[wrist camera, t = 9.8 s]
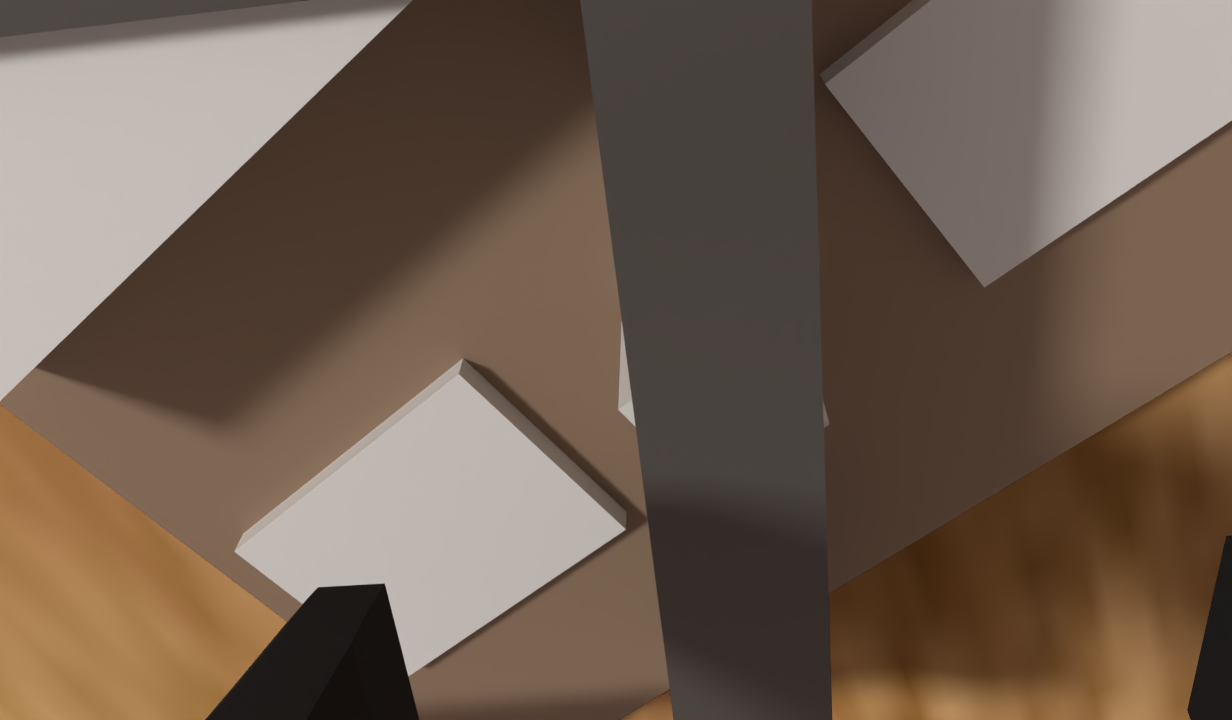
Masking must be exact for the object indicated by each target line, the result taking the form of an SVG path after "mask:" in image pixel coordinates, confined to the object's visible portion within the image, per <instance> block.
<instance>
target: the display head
mask: <svg viewBox="0 0 1232 720" xmlns="http://www.w3.org/2000/svg"><path fill="white" fill-rule="evenodd" d="M812 35H813V70H814V104H815V139H816V174H817V209H818V244H819V279H820V314H821V348H822V383H823V418H824V453H825V488H826V523H827V557H828V592H829V593H831V592H833V591H834V590H836V589H838V588H839V587H841V586H843V585H844V584H846V583H848V582H849V581H851V580H853V579H854V578H856V577H858V576H859V575H861V574H863V573H864V572H866V571H868V570H869V569H871V568H873V567H874V566H876V565H878V564H879V563H881V562H883V561H884V560H886V559H887V558H889V557H891V556H892V555H894V554H896V553H897V552H899V551H901V550H902V549H904V548H906V547H907V546H909V545H911V544H912V543H914V542H916V541H917V540H919V539H921V538H922V537H924V536H926V535H927V534H929V533H931V532H932V531H934V530H936V529H937V528H939V527H941V526H942V525H944V524H946V523H947V522H949V521H951V520H952V519H954V518H956V517H957V516H959V515H961V514H962V513H964V512H966V511H967V510H969V509H971V508H972V507H974V506H976V505H977V504H979V503H981V502H982V501H984V500H986V499H987V498H989V497H991V496H992V495H994V494H996V493H997V492H999V491H1001V490H1002V489H1004V488H1006V487H1007V486H1009V485H1011V484H1012V483H1014V482H1016V481H1017V480H1019V479H1021V478H1022V477H1024V476H1026V475H1027V474H1029V473H1031V472H1032V471H1034V470H1036V469H1037V468H1039V467H1041V466H1042V465H1044V464H1046V463H1047V462H1049V461H1051V460H1052V459H1054V458H1056V457H1057V456H1059V455H1061V454H1062V453H1064V452H1066V451H1067V450H1069V449H1071V448H1072V447H1074V446H1076V445H1077V444H1079V443H1081V442H1082V441H1084V440H1086V439H1087V438H1089V437H1091V436H1092V435H1094V434H1096V433H1097V432H1099V431H1101V430H1102V429H1104V428H1106V427H1107V426H1109V425H1111V424H1112V423H1114V422H1116V421H1117V420H1119V419H1121V418H1122V417H1124V416H1126V415H1127V414H1129V413H1131V412H1132V411H1134V410H1136V409H1137V408H1139V407H1141V406H1142V405H1144V404H1146V403H1147V402H1149V401H1151V400H1152V399H1154V398H1156V397H1157V396H1159V395H1161V394H1162V393H1164V392H1166V391H1167V390H1169V389H1171V388H1172V387H1174V386H1176V385H1177V384H1179V383H1181V382H1182V381H1184V380H1186V379H1187V378H1189V377H1191V376H1192V375H1194V374H1196V373H1197V372H1199V371H1201V370H1202V369H1204V368H1206V367H1207V366H1209V365H1211V364H1212V363H1214V362H1216V361H1217V360H1219V359H1221V358H1222V357H1224V356H1225V355H1227V354H1229V353H1230V352H1232V0H812ZM0 405H1V406H3V407H4V408H5V409H7V410H8V411H9V412H11V413H12V414H13V415H15V416H16V417H17V418H19V419H20V420H21V421H23V422H24V423H25V424H26V425H28V426H29V427H30V428H32V429H33V430H34V431H36V432H37V433H38V434H40V435H41V436H42V437H44V438H45V439H46V440H48V441H49V442H50V443H52V444H53V445H54V446H56V447H57V448H58V449H59V450H61V451H62V452H63V453H65V454H66V455H67V456H69V457H70V458H71V459H73V460H74V461H75V462H77V463H78V464H79V465H81V466H82V467H83V468H85V469H86V470H87V471H89V472H90V473H91V474H92V475H94V476H95V477H96V478H98V479H99V480H100V481H102V482H103V483H104V484H106V485H107V486H108V487H110V488H111V489H112V490H114V491H115V492H116V493H118V494H119V495H120V496H122V497H123V498H124V499H125V500H127V501H128V502H129V503H131V504H132V505H133V506H135V507H136V508H137V509H139V510H140V511H141V512H143V513H144V514H145V515H147V516H148V517H149V518H151V519H152V520H153V521H155V522H156V523H157V524H159V525H160V526H161V527H162V528H164V529H165V530H166V531H168V532H169V533H170V534H172V535H173V536H174V537H176V538H177V539H178V540H180V541H181V542H182V543H184V544H185V545H186V546H188V547H189V548H190V549H192V550H193V551H194V552H195V553H197V554H198V555H199V556H201V557H202V558H203V559H205V560H206V561H207V562H209V563H210V564H211V565H213V566H214V567H215V568H217V569H218V570H219V571H221V572H222V573H223V574H225V575H226V576H227V577H228V578H230V579H231V580H232V581H234V582H235V583H236V584H238V585H239V586H240V587H242V588H243V589H244V590H246V591H247V592H248V593H250V594H251V595H252V596H254V597H255V598H256V599H258V600H259V601H260V602H261V603H263V604H264V605H265V606H267V607H268V608H269V609H271V610H272V611H273V612H275V613H276V614H277V615H279V616H280V617H281V618H283V619H284V620H285V621H287V622H288V621H289V619H290V618H291V617H292V616H293V615H294V614H295V612H296V611H297V610H298V609H299V608H300V607H301V606H302V604H303V603H304V602H305V601H306V600H307V599H308V597H309V596H310V595H311V594H312V593H313V592H314V591H315V590H316V589H317V588H318V587H331V586H348V585H366V584H384V583H385V586H386V590H387V594H388V598H389V602H390V606H391V610H392V614H393V618H394V622H395V626H396V630H397V634H398V638H399V641H400V645H401V649H402V653H403V657H404V661H405V665H406V669H407V673H408V677H409V681H410V685H411V689H412V693H413V697H414V701H415V704H416V708H417V712H418V716H419V720H619V719H621V718H623V717H624V716H626V715H628V714H629V713H631V712H633V711H634V710H636V709H638V708H639V707H641V706H643V705H644V704H646V703H648V702H649V701H651V700H653V699H654V698H656V697H658V696H659V695H661V694H663V693H664V692H666V691H668V690H669V689H670V688H669V680H668V672H667V665H666V657H665V649H664V641H663V634H662V626H661V618H660V611H659V603H658V595H657V588H656V580H655V572H654V565H653V557H652V549H651V542H650V534H649V526H648V519H647V511H646V503H645V495H644V488H643V480H642V472H641V465H640V457H639V449H638V442H637V434H636V426H635V419H634V411H633V403H632V396H631V388H630V380H629V372H628V365H627V357H626V349H625V342H624V334H623V326H622V319H621V311H620V303H619V296H618V288H617V280H616V273H615V265H614V257H613V250H612V242H611V234H610V226H609V219H608V211H607V203H606V196H605V188H604V180H603V173H602V165H601V157H600V150H599V142H598V134H597V127H596V119H595V111H594V104H593V96H592V88H591V80H590V73H589V65H588V57H587V50H586V42H585V34H584V27H583V19H582V11H581V4H580V0H308V1H299V2H291V3H283V4H274V5H266V6H258V7H249V8H241V9H233V10H224V11H216V12H207V13H199V14H191V15H182V16H174V17H166V18H157V19H149V20H141V21H132V22H124V23H116V24H107V25H99V26H91V27H82V28H74V29H65V30H57V31H49V32H40V33H32V34H24V35H15V36H7V37H0Z"/></svg>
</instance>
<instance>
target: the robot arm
mask: <svg viewBox="0 0 1232 720" xmlns="http://www.w3.org/2000/svg"><path fill="white" fill-rule="evenodd" d="M1187 711H1188V713H1189V716H1190V719H1191V720H1232V536H1226V540H1225V544H1224V549H1223V553H1222V558H1221V562H1220V567H1219V571H1218V576H1217V580H1216V585H1215V589H1214V593H1213V598H1212V602H1211V607H1210V611H1209V616H1208V620H1207V625H1206V629H1205V634H1204V638H1203V643H1202V647H1201V652H1200V656H1199V661H1198V665H1197V670H1196V674H1195V679H1194V683H1193V687H1192V692H1191V696H1190V701H1189V705H1188V710H1187ZM205 720H419V716H418V712H417V708H416V704H415V701H414V697H413V693H412V689H411V685H410V681H409V677H408V673H407V669H406V665H405V661H404V657H403V653H402V649H401V645H400V641H399V638H398V634H397V630H396V626H395V622H394V618H393V614H392V610H391V606H390V602H389V598H388V594H387V590H386V586H385V583H384V584H366V585H348V586H331V587H318V588H317V589H316V590H315V591H314V592H313V593H312V594H311V595H310V596H309V597H308V599H307V600H306V601H305V602H304V603H303V604H302V606H301V607H300V608H299V609H298V610H297V611H296V612H295V614H294V615H293V616H292V617H291V618H290V619H289V621H288V622H287V623H286V624H285V625H284V627H283V628H282V629H281V630H280V631H279V633H278V634H277V635H276V636H275V637H274V639H273V640H272V641H271V642H270V643H269V645H268V646H267V647H266V648H265V649H264V651H263V652H262V653H261V654H260V655H259V657H258V658H257V659H256V660H255V661H254V663H253V664H252V665H251V666H250V667H249V669H248V670H247V671H246V672H245V673H244V675H243V676H242V677H241V678H240V679H239V681H238V682H237V683H236V684H235V685H234V686H233V688H232V689H231V690H230V691H229V692H228V694H227V695H226V696H225V697H224V698H223V700H222V701H221V702H220V703H219V704H218V705H217V707H216V708H215V709H214V710H213V711H212V712H211V714H210V715H209V716H208V717H207V718H206V719H205Z"/></svg>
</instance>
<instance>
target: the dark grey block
mask: <svg viewBox="0 0 1232 720" xmlns="http://www.w3.org/2000/svg"><path fill="white" fill-rule="evenodd" d="M299 1H308V0H0V37H7V36H15V35H24V34H32V33H40V32H49V31H57V30H65V29H74V28H82V27H91V26H99V25H107V24H116V23H124V22H132V21H141V20H149V19H157V18H166V17H174V16H182V15H191V14H199V13H207V12H216V11H224V10H233V9H241V8H249V7H258V6H266V5H274V4H283V3H291V2H299ZM580 4H581V11H582V19H583V27H584V34H585V42H586V50H587V57H588V65H589V73H590V80H591V88H592V96H593V104H594V111H595V119H596V127H597V134H598V142H599V150H600V157H601V165H602V173H603V180H604V188H605V196H606V203H607V211H608V219H609V226H610V234H611V242H612V250H613V257H614V265H615V273H616V280H617V288H618V296H619V303H620V311H621V319H622V326H623V334H624V342H625V349H626V357H627V365H628V372H629V380H630V388H631V396H632V403H633V411H634V419H635V426H636V434H637V442H638V449H639V457H640V465H641V472H642V480H643V488H644V495H645V503H646V511H647V519H648V526H649V534H650V542H651V549H652V557H653V565H654V572H655V580H656V588H657V595H658V603H659V611H660V618H661V626H662V634H663V641H664V649H665V657H666V665H667V672H668V680H669V688H670V695H671V703H672V711H673V718H674V720H832V697H831V662H830V627H829V592H828V557H827V523H826V488H825V453H824V418H823V383H822V348H821V314H820V279H819V244H818V209H817V174H816V139H815V104H814V70H813V35H812V0H580Z"/></svg>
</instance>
